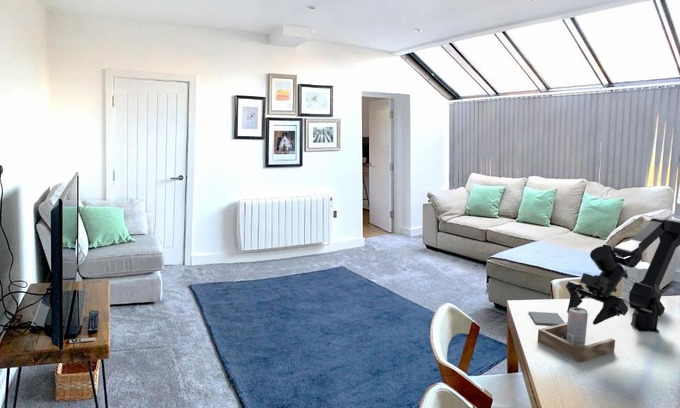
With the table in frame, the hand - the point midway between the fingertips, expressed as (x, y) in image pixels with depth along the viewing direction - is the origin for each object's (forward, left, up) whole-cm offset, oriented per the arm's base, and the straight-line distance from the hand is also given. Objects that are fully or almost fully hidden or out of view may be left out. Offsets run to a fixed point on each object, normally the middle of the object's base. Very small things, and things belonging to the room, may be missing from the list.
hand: (580, 318), depth 151 cm
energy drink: (+1, +1, -9) cm, 9 cm away
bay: (+1, +1, -9) cm, 9 cm away
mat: (+4, -20, -9) cm, 23 cm away
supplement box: (-36, -43, -9) cm, 57 cm away
